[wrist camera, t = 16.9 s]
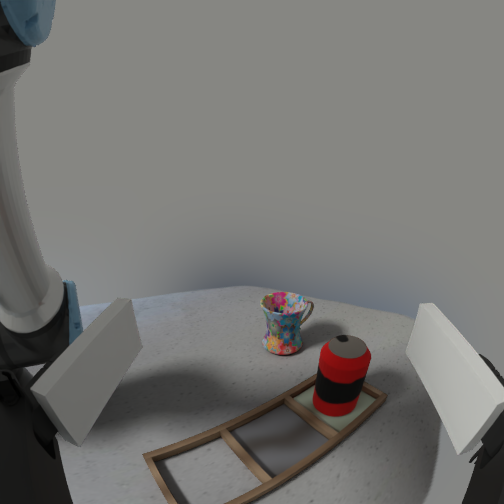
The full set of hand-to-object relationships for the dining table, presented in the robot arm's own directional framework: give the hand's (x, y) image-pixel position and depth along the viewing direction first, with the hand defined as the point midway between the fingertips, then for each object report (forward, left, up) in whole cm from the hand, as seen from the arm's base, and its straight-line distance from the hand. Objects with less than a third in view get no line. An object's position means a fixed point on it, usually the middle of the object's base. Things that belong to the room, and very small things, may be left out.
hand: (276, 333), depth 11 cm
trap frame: (-10, +10, -29) cm, 32 cm away
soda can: (-10, +22, -29) cm, 38 cm away
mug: (-28, +27, -30) cm, 49 cm away
